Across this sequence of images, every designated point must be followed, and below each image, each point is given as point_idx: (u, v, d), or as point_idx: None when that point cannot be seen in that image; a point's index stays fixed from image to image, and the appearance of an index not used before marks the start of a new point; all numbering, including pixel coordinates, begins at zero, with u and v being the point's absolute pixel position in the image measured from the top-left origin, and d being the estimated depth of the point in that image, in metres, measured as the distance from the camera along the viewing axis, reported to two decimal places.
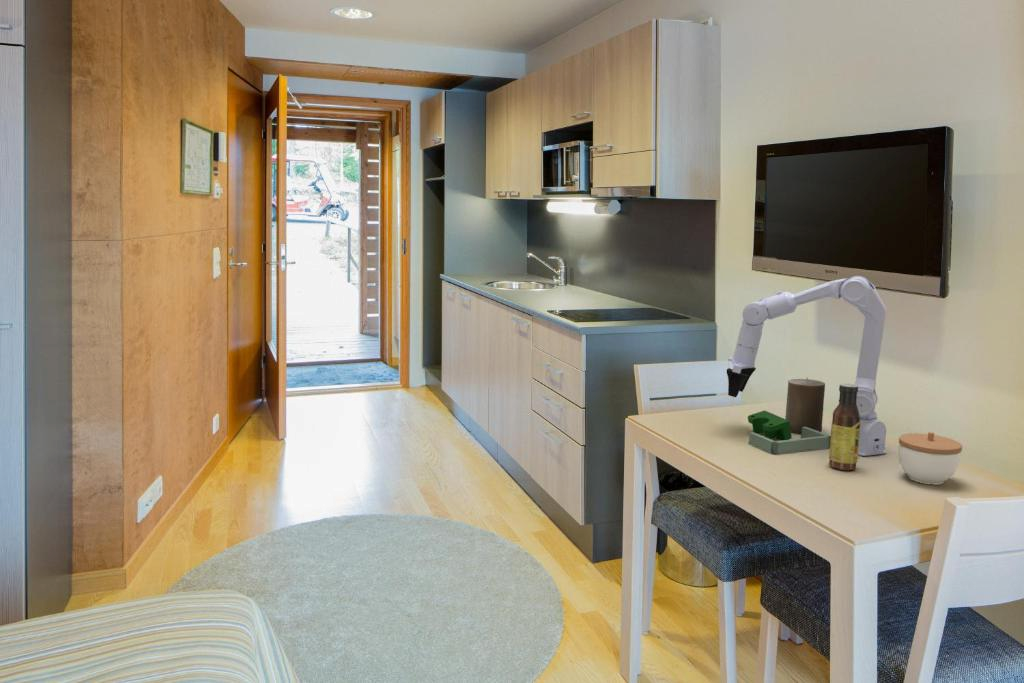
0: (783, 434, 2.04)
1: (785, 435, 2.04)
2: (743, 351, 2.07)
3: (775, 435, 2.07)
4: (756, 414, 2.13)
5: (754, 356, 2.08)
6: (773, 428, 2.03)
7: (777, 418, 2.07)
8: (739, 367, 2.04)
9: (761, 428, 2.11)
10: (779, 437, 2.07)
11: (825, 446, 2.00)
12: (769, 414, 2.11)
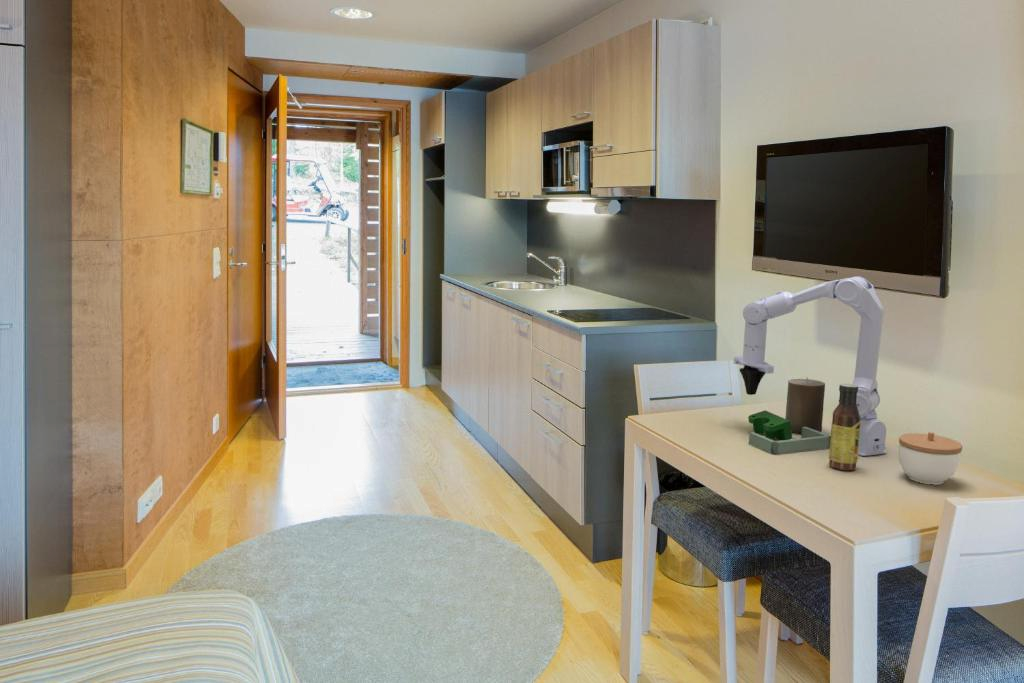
0: (784, 434, 2.04)
1: (786, 435, 2.04)
2: (760, 352, 2.10)
3: (776, 435, 2.07)
4: (757, 414, 2.13)
5: None
6: (774, 428, 2.03)
7: (777, 418, 2.07)
8: (772, 367, 2.07)
9: (762, 428, 2.11)
10: (780, 437, 2.07)
11: (825, 446, 2.00)
12: (770, 414, 2.11)
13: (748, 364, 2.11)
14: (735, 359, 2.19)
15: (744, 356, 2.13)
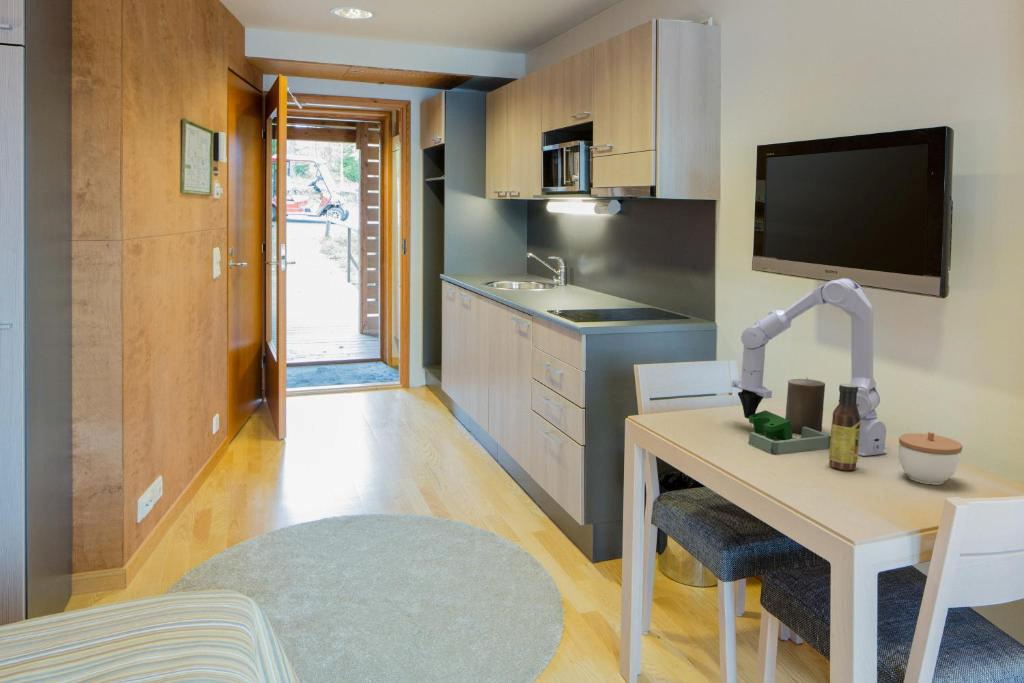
0: (784, 434, 2.05)
1: (786, 435, 2.04)
2: (758, 376, 2.12)
3: (776, 435, 2.07)
4: (757, 414, 2.13)
5: None
6: (774, 428, 2.03)
7: (778, 418, 2.07)
8: (770, 392, 2.08)
9: (762, 428, 2.11)
10: (780, 437, 2.07)
11: (825, 446, 2.00)
12: (770, 414, 2.11)
13: (746, 388, 2.12)
14: (733, 382, 2.20)
15: (742, 380, 2.14)
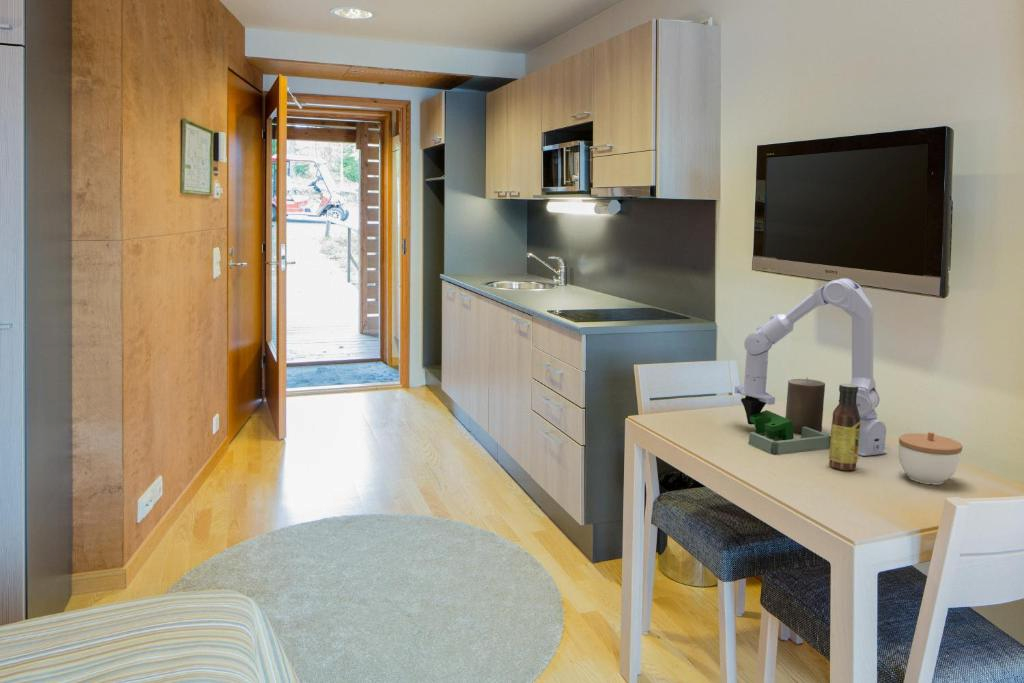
0: (785, 434, 2.04)
1: (787, 435, 2.04)
2: (761, 382, 2.11)
3: (777, 435, 2.06)
4: (758, 414, 2.12)
5: None
6: (775, 428, 2.03)
7: (779, 418, 2.07)
8: (773, 398, 2.07)
9: (763, 428, 2.10)
10: (781, 437, 2.06)
11: (825, 446, 2.00)
12: (771, 414, 2.10)
13: (749, 394, 2.11)
14: (736, 388, 2.19)
15: (745, 386, 2.13)
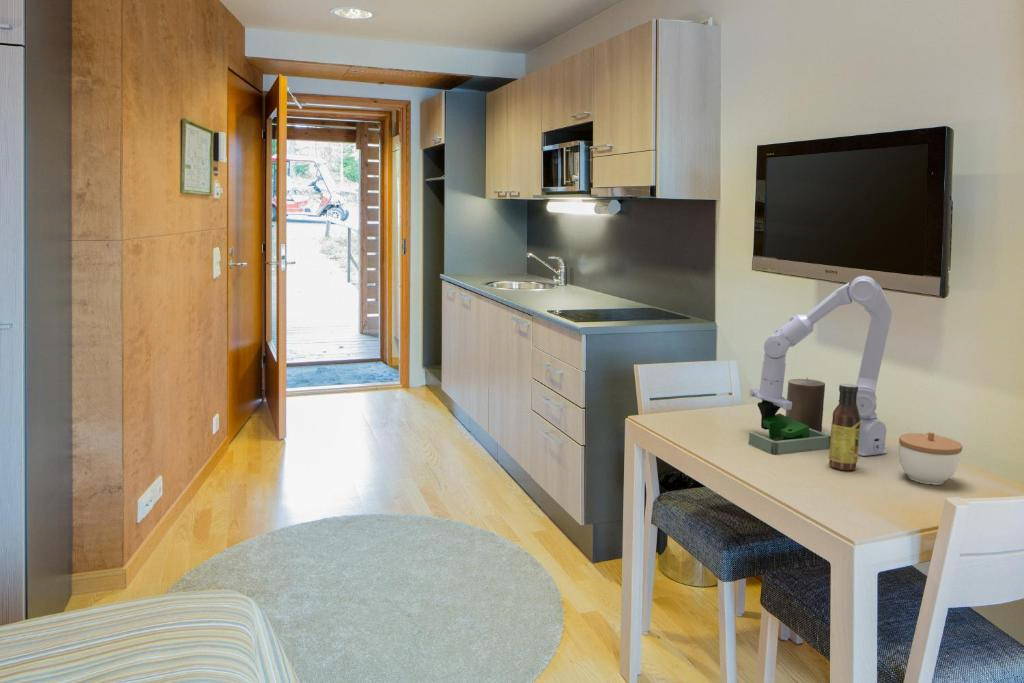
0: None
1: None
2: (778, 386, 2.04)
3: None
4: (772, 417, 2.07)
5: None
6: (793, 434, 1.97)
7: (795, 423, 2.01)
8: (790, 403, 2.01)
9: (777, 432, 2.05)
10: None
11: (825, 446, 2.00)
12: (785, 418, 2.05)
13: (765, 399, 2.05)
14: (751, 391, 2.12)
15: (761, 390, 2.06)
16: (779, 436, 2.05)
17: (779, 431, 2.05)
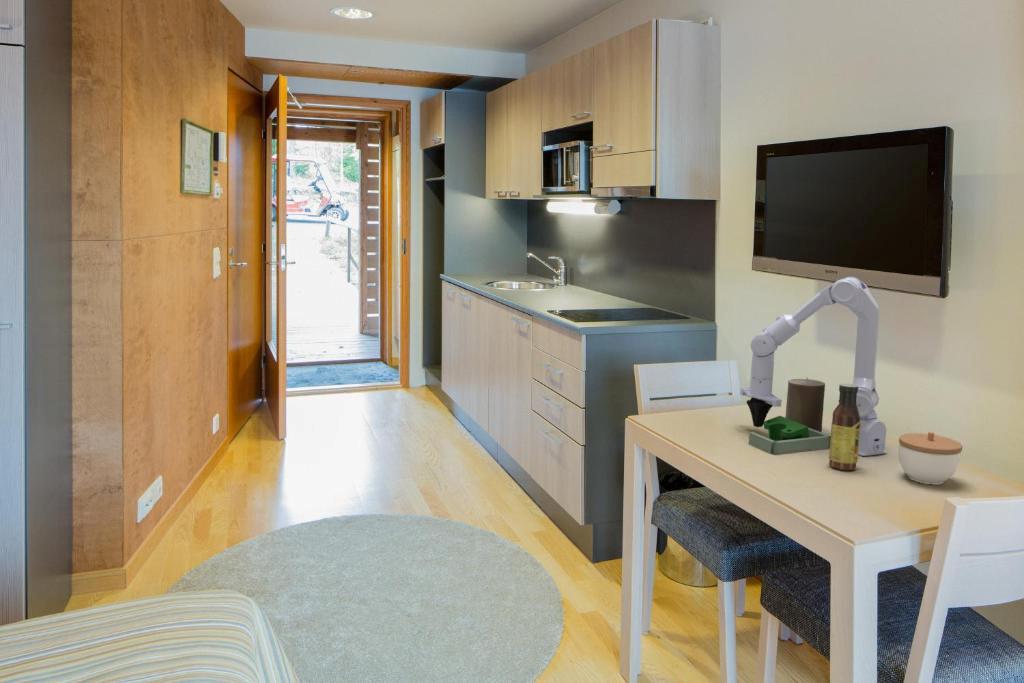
0: None
1: None
2: (767, 384, 2.08)
3: None
4: (772, 420, 2.07)
5: None
6: (792, 434, 1.98)
7: (794, 424, 2.02)
8: (780, 400, 2.05)
9: (777, 434, 2.05)
10: None
11: (825, 446, 2.00)
12: (785, 420, 2.05)
13: (755, 397, 2.09)
14: (742, 390, 2.17)
15: (751, 388, 2.10)
16: (780, 438, 2.05)
17: (779, 433, 2.05)
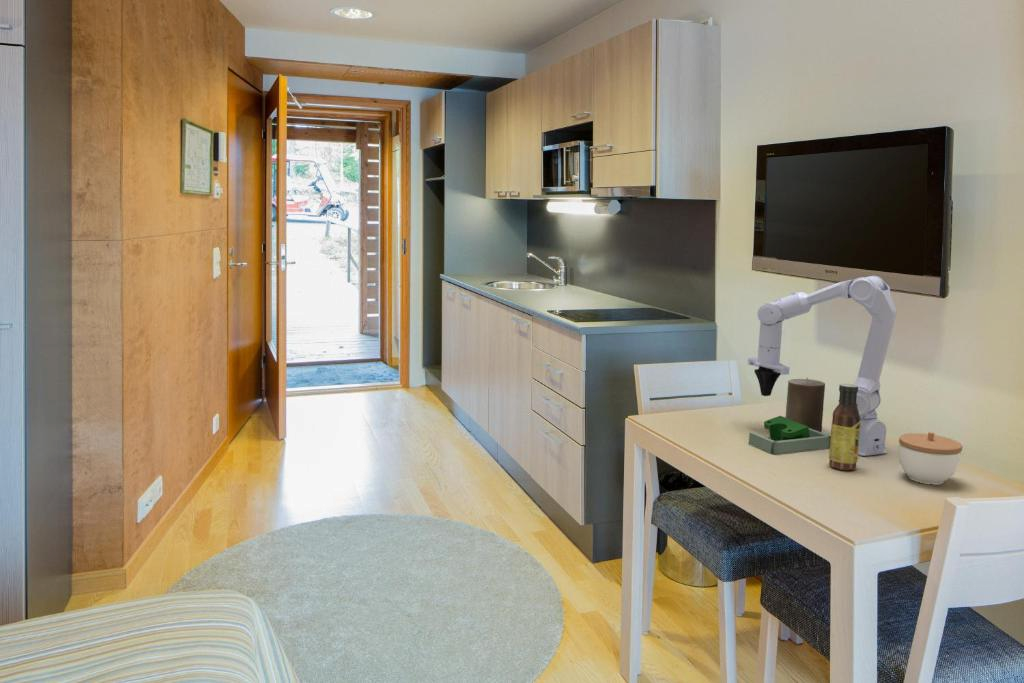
0: None
1: None
2: (775, 353, 2.09)
3: None
4: (772, 420, 2.07)
5: None
6: (792, 434, 1.98)
7: (795, 424, 2.02)
8: (788, 368, 2.06)
9: (778, 434, 2.05)
10: None
11: (825, 446, 2.00)
12: (786, 420, 2.05)
13: (763, 365, 2.10)
14: (750, 360, 2.18)
15: (759, 357, 2.11)
16: (780, 438, 2.05)
17: (780, 433, 2.05)
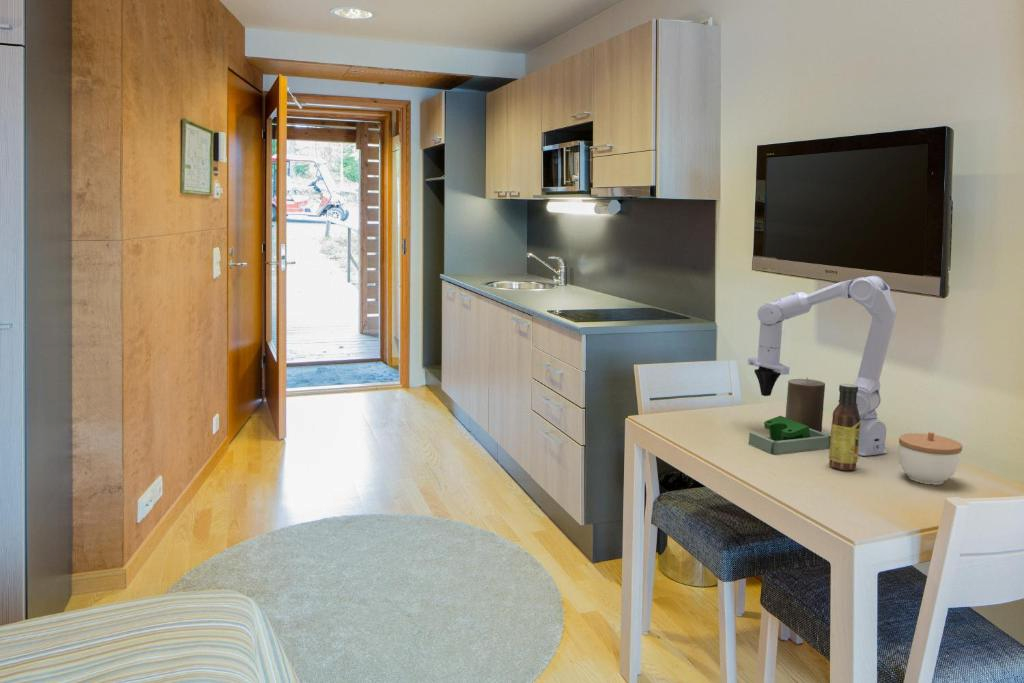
0: None
1: None
2: (775, 353, 2.09)
3: None
4: (772, 420, 2.07)
5: None
6: (793, 434, 1.98)
7: (795, 424, 2.02)
8: (788, 368, 2.06)
9: (778, 434, 2.05)
10: None
11: (825, 446, 2.00)
12: (786, 419, 2.05)
13: (763, 365, 2.10)
14: (750, 360, 2.18)
15: (759, 357, 2.11)
16: (780, 438, 2.05)
17: (780, 433, 2.05)
